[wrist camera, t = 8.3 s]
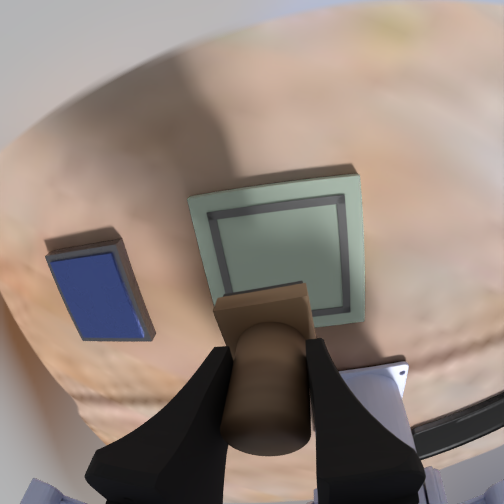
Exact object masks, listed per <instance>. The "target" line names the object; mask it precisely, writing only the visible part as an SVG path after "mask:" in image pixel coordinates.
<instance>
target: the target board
mask: <svg viewBox="0 0 504 504" xmlns="http://www.w3.org/2000/svg"><path fill="white" fill-rule="evenodd" d="M187 201H188V205H189V209H190V213H191V217H192V222H193V226H194V230H195V234H196V238H197V242H198V246H199V250H200V254H201V258H202V262H203V266H204V270H205V273H206V277H207V281H208V285H209V289H210V292H211V296H212V300H213V303H214V306H215V304H216V301H217V298H219V297H223V295H224V294H227V293H233V292H239V291H245V290H251V289H257V288H263V287H269V286H274V285H280V284H286V283H291V282H297V281H303V283H306V285H307V290H308V296H309V301H310V306H311V311H312V317H313V322H314V328H316V327H324V326H333V325H341V324H349V323H356V322H363V321H364V317H365V260H364V230H363V211H362V195H361V182H360V175H359V174H358V173H357V174H347V175H337V176H328V177H319V178H311V179H303V180H294V181H287V182H279V183H272V184H264V185H257V186H251V187H244V188H237V189H231V190H224V191H218V192H212V193H206V194H200V195H194V196H190V197H189V198H188V199H187Z"/></svg>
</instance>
